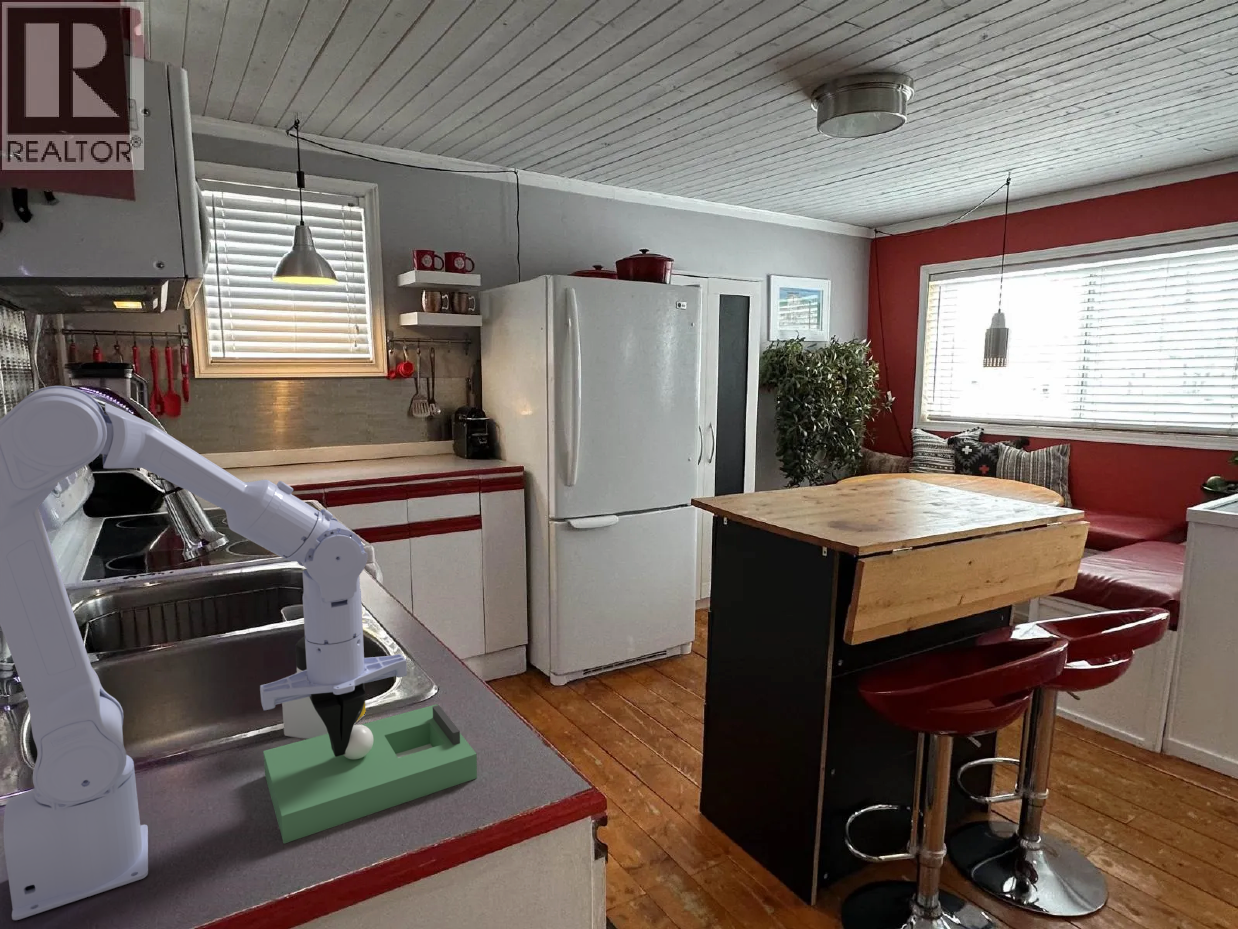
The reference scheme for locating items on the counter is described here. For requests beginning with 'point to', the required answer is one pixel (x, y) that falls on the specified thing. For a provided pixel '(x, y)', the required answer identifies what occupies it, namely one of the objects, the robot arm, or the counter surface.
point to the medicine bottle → (305, 708)
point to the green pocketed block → (366, 772)
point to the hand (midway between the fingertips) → (340, 750)
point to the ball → (359, 742)
